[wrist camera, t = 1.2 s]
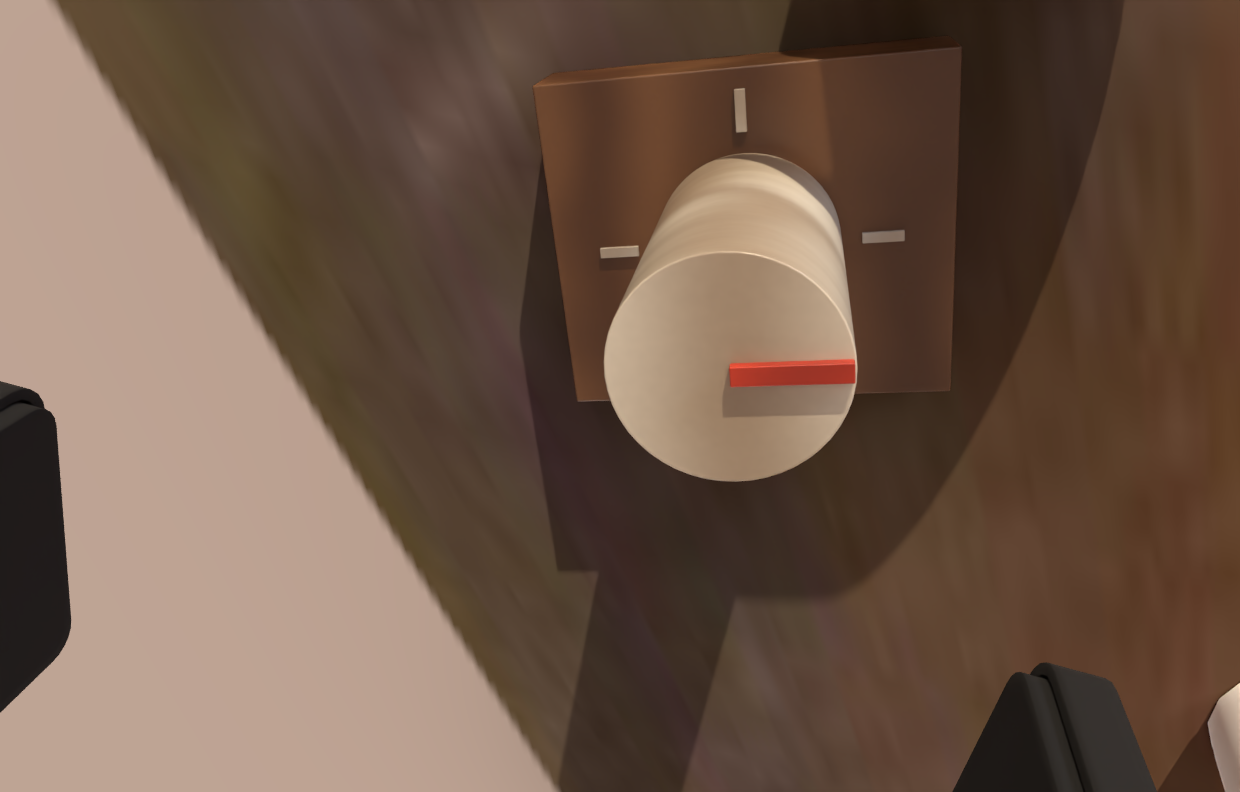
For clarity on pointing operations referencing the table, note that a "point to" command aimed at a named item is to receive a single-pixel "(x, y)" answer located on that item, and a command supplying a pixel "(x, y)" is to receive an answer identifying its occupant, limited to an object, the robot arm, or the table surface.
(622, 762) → the table surface
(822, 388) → the rotary dial knob
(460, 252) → the table surface
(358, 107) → the table surface
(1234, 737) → the foam cup
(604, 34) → the table surface
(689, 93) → the brown square plate
